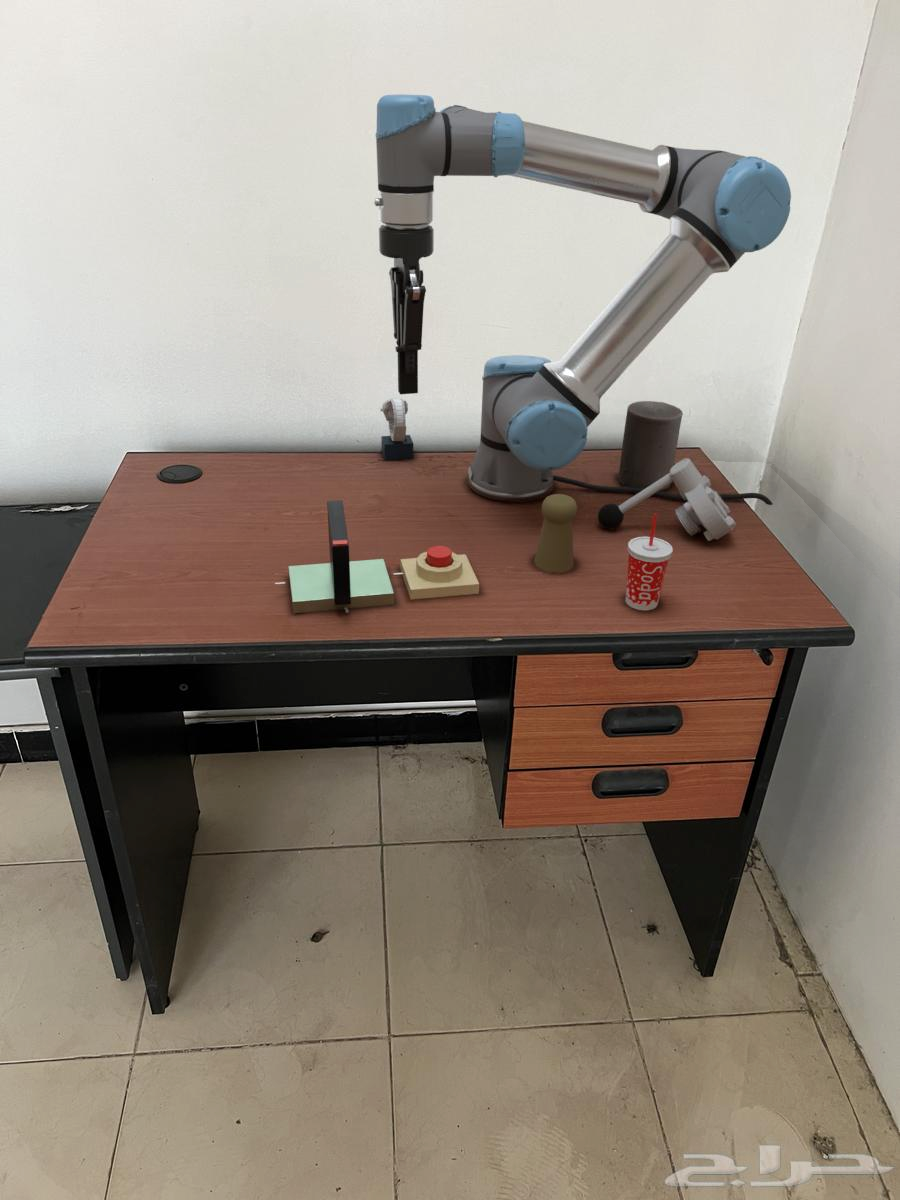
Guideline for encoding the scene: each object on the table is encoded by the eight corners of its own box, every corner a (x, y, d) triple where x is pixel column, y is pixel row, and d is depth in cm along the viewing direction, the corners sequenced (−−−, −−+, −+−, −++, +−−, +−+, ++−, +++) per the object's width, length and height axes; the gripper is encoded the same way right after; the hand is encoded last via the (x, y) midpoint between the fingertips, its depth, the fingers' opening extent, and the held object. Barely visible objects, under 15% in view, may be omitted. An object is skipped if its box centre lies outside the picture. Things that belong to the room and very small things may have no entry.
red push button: (448, 555, 132) (449, 544, 131) (453, 567, 129) (454, 556, 128) (424, 557, 131) (424, 546, 130) (429, 569, 128) (429, 558, 127)
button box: (465, 563, 136) (466, 543, 134) (478, 593, 129) (480, 572, 127) (400, 568, 134) (400, 548, 132) (410, 599, 127) (410, 578, 125)
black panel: (329, 555, 133) (327, 499, 128) (344, 554, 133) (342, 498, 128) (334, 605, 121) (331, 544, 116) (351, 604, 122) (348, 544, 117)
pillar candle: (613, 487, 162) (623, 407, 154) (623, 467, 170) (633, 390, 162) (667, 496, 159) (680, 415, 151) (674, 475, 167) (688, 397, 159)
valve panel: (393, 556, 138) (393, 543, 136) (413, 619, 123) (414, 606, 121) (273, 565, 134) (272, 552, 133) (279, 631, 119) (278, 618, 118)
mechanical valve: (743, 535, 140) (691, 461, 136) (645, 594, 147) (593, 525, 142) (733, 512, 149) (684, 441, 145) (641, 568, 156) (592, 502, 152)
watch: (408, 446, 176) (408, 391, 170) (414, 462, 169) (415, 406, 163) (379, 447, 175) (378, 393, 169) (385, 463, 168) (384, 407, 162)
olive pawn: (547, 576, 134) (554, 509, 128) (526, 558, 138) (532, 493, 132) (581, 567, 136) (589, 502, 130) (559, 550, 141) (566, 486, 135)
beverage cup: (616, 608, 126) (628, 519, 119) (624, 587, 131) (636, 501, 124) (659, 617, 125) (675, 527, 117) (666, 596, 130) (681, 508, 122)
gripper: (370, 217, 127) (375, 380, 139) (388, 233, 116) (392, 408, 128) (422, 216, 128) (422, 377, 141) (444, 231, 118) (442, 404, 130)
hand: (408, 392), depth 135 cm, fingers closed
